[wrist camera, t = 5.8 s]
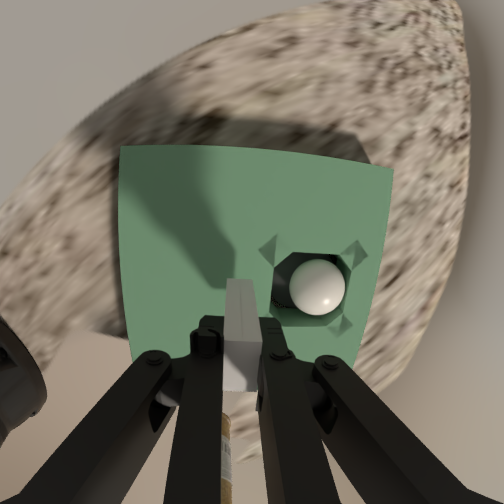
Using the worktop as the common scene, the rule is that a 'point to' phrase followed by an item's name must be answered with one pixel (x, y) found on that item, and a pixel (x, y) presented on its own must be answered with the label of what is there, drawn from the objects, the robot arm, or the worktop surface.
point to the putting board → (245, 240)
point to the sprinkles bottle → (226, 462)
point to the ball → (317, 287)
